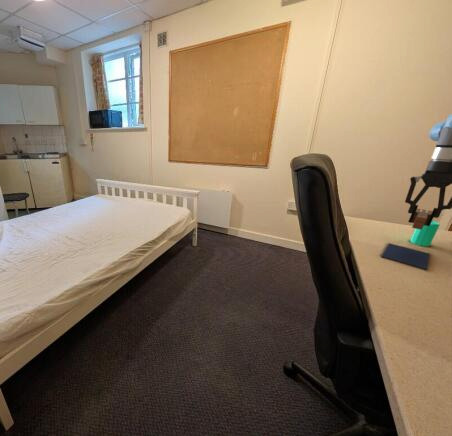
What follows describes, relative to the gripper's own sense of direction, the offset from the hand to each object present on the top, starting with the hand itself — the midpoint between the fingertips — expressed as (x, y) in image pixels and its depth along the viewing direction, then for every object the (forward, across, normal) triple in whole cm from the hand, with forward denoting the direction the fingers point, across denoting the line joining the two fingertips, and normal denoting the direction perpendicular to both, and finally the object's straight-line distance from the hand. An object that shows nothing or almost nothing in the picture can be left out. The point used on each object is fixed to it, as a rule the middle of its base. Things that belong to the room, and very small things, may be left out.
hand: (418, 223), depth 84 cm
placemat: (+15, 0, -2) cm, 15 cm away
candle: (+15, -3, -23) cm, 27 cm away
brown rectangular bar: (0, 0, 0) cm, 0 cm away
